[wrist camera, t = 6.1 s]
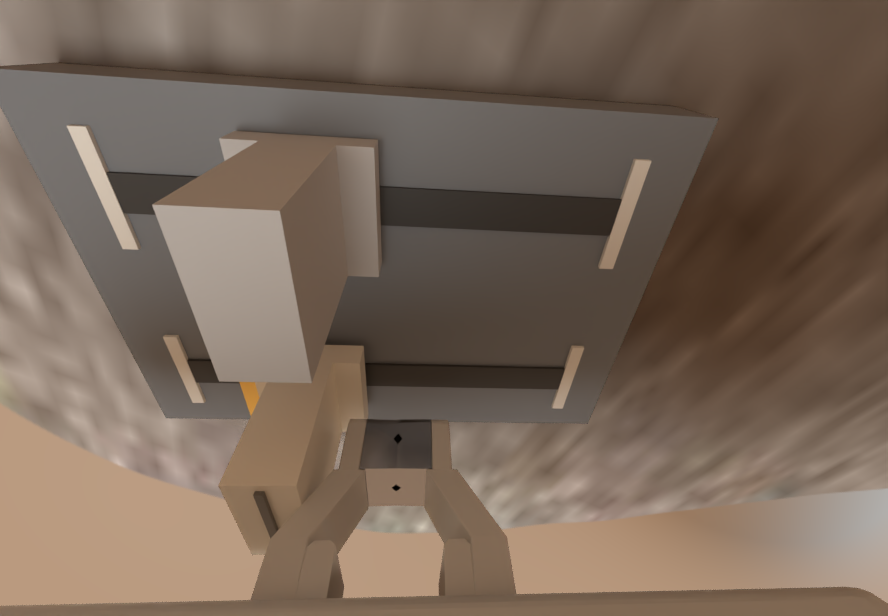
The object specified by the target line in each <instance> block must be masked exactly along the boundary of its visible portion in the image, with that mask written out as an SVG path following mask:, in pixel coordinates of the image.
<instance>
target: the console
mask: <svg viewBox="0 0 888 616" xmlns="http://www.w3.org/2000/svg"><path fill="white" fill-rule="evenodd" d="M0 107H1V109H2V111H3V112H4V114H5V116H6V118H7V120H8V122H9V124H10V126H11V127H12V129H13V131H14V133H15V135H16V137H17V139H18V141H19V143H20V144H21V146H22V148H23V150H24V152H25V154H26V156H27V158H28V159H29V161H30V163H31V165H32V167H33V169H34V171H35V173H36V174H37V176H38V178H39V180H40V182H41V184H42V186H43V188H44V190H45V191H46V193H47V195H48V197H49V199H50V201H51V203H52V205H53V206H54V208H55V210H56V212H57V214H58V216H59V218H60V220H61V222H62V223H63V225H64V227H65V229H66V231H67V233H68V235H69V237H70V238H71V240H72V242H73V244H74V246H75V248H76V250H77V252H78V253H79V255H80V257H81V259H82V261H83V263H84V265H85V267H86V269H87V270H88V272H89V274H90V276H91V278H92V280H93V282H94V284H95V285H96V287H97V289H98V291H99V293H100V295H101V297H102V299H103V301H104V302H105V304H106V306H107V308H108V310H109V312H110V314H111V316H112V317H113V319H114V321H115V323H116V325H117V327H118V329H119V331H120V332H121V334H122V336H123V338H124V340H125V342H126V344H127V346H128V348H129V349H130V351H131V353H132V355H133V357H134V359H135V361H136V363H137V364H138V366H139V368H140V370H141V372H142V374H143V376H144V378H145V379H146V381H147V383H148V385H149V387H150V389H151V391H152V393H153V395H154V396H155V398H156V400H157V402H158V404H159V406H160V408H161V410H162V411H163V413H164V415H165V417H166V418H195V419H250V417H251V415H252V413H253V411H254V409H255V407H256V404H257V402H258V400H259V395H258V391H257V388H256V385H255V382H276V383H312V381H313V378H314V375H315V372H316V369H317V366H318V363H319V360H320V357H321V354H322V351H323V348H324V345H354V346H364V358H365V372H366V386H367V400H368V419H380V420H398V419H431V420H448V422H503V423H579V424H588V422H589V419H590V417H591V415H592V412H593V410H594V408H595V405H596V403H597V401H598V398H599V396H600V394H601V391H602V389H603V387H604V384H605V382H606V380H607V377H608V375H609V373H610V370H611V368H612V366H613V363H614V361H615V359H616V356H617V354H618V352H619V349H620V347H621V345H622V342H623V340H624V338H625V335H626V333H627V331H628V329H629V326H630V324H631V322H632V319H633V317H634V315H635V312H636V310H637V308H638V305H639V303H640V301H641V298H642V296H643V294H644V291H645V289H646V287H647V284H648V282H649V280H650V277H651V275H652V273H653V270H654V268H655V266H656V263H657V261H658V259H659V256H660V254H661V252H662V249H663V247H664V245H665V242H666V240H667V238H668V235H669V233H670V231H671V228H672V226H673V224H674V222H675V219H676V217H677V215H678V212H679V210H680V208H681V205H682V203H683V201H684V198H685V196H686V194H687V191H688V189H689V187H690V184H691V182H692V180H693V177H694V175H695V173H696V170H697V168H698V166H699V163H700V161H701V159H702V156H703V154H704V152H705V149H706V147H707V145H708V142H709V140H710V138H711V135H712V133H713V131H714V128H715V126H716V124H717V121H718V119H719V118H716V117H712V116H708V115H704V114H701V113H697V112H693V111H690V110H686V109H682V108H679V107H675V106H664V105H650V104H635V103H621V102H607V101H593V100H579V99H565V98H550V97H536V96H522V95H508V94H494V93H479V92H465V91H451V90H437V89H423V88H409V87H394V86H380V85H366V84H352V83H338V82H323V81H309V80H295V79H281V78H267V77H253V76H238V75H224V74H210V73H196V72H182V71H167V70H153V69H139V68H125V67H111V66H97V65H82V64H68V63H43V64H27V65H11V66H0Z"/></svg>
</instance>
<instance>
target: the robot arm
mask: <svg viewBox="0 0 888 616" xmlns="http://www.w3.org/2000/svg"><path fill="white" fill-rule="evenodd" d="M391 505H404V506H424V508H425V509H426V511H427V513H428V515H429V517H430V519H431V520H432V522H433V524H434V526H435V528H436V530H437V531H438V533H439V535H440V537H441V539H442V540H443V542H444V549H443V556H442V564H441V571H440V579H439V596H416V597H371V598H343V591H344V584H343V580H342V574H341V570H340V565H339V560H338V555H337V554H338V553H339V551H340V550H341V548H342V547H343V545H344V544H345V542H346V541H347V539H348V538H349V536H350V535H351V533H352V532H353V530H354V529H355V527H356V526H357V524H358V523H359V521H360V520H361V518H362V517H363V515H364V514H365V513H366V511H367V510H368V506H391ZM0 616H888V603H886V602H884V601H883V600H881V599H880V598H878V597H877V596H875V595H874V594H872V593H870V592H868V591H865V590H862V589H859V588H851V587H826V588H824V587H823V588H781V589H780V588H778V589H734V590H689V591H688V590H687V591H647V592H646V591H645V592H644V591H643V592H602V593H601V592H599V593H598V592H597V593H551V594H516V590H515V584H514V578H513V571H512V565H511V559H510V553H509V547H508V541H507V537H506V535H505V534H504V532H503V531H502V530H501V528H500V527H499V526H498V524H497V523H496V522H495V520H494V519H493V518H492V516H491V515H490V514H489V512H488V511H487V510H486V508H485V507H484V505H483V504H482V503H481V501H480V500H479V499H478V497H477V496H476V495H475V493H474V492H473V491H472V489H471V488H470V487H469V485H468V484H467V483H466V481H465V480H464V479H463V477H462V476H461V474H460V473H459V472H458V470H454V469H452V463H451V447H450V431H449V422H448V420H431V419H398V420H380V419H350V421H349V423H348V426H347V431H346V436H345V441H344V446H343V451H342V456H341V461H340V466H339V469H337V470H333V471H332V472H331V473H330V474H329V475H328V476H327V477H326V478H325V480H324V481H323V482H322V483H321V484H320V485H319V486H318V487H317V488H316V489H315V490H314V492H313V493H312V494H311V495H310V496H309V497H308V498H307V499H306V500H305V501H304V503H303V504H302V505H301V506H300V507H299V508H298V509H297V510H296V511H295V512H294V513H293V515H292V516H291V517H290V518H289V519H288V520H287V521H286V522H285V523H284V524H283V526H282V527H281V528H280V529H279V530H278V531H277V532H276V533H275V534H274V535H273V536H272V538H271V539H270V541H269V544H268V547H267V550H266V553H265V556H264V560H263V563H262V566H261V569H260V572H259V575H258V579H257V582H256V585H255V588H254V591H253V594H252V598H251V600H242V601H241V600H238V601H194V602H154V603H153V602H149V603H108V604H107V603H106V604H64V605H62V604H61V605H20V606H19V605H18V606H0Z"/></svg>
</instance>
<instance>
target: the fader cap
mask: <svg viewBox="0 0 888 616" xmlns="http://www.w3.org/2000/svg"><path fill="white" fill-rule="evenodd" d="M255 385H256V388H257V391H258V395H259V400H258V402H257V404H256V407H255V409H254V411H253V413H252V415H251V417H250V419H249V421H248V424H247V426H246V428H245V430H244V432H243V434H242V436H241V439H240V441H239V443H238V445H237V447H236V449H235V451H234V454H233V456H232V458H231V460H230V462H229V464H228V466H227V468H226V471H225V473H224V475H223V477H222V479H221V481H220V483H219V488H220V490H221V492H222V494H223V496H224V498H225V500H226V502H227V504H228V507H229V509H230V511H231V513H232V515H233V517H234V519H235V520H236V523H237V525H238V527H239V529H240V531H241V533H242V535H243V537H244V539H245V541H246V543H247V545H248V548H249V549H250V551H251V554H252V555H258V554H259V555H262V554H263V555H265V553H266V550H267V547H268V544H269V541H270V539H271V538H272V536H273V535H274V534H275V533H276V532H277V531H278V530H279V529H280V528H281V527H282V526H283V524H284V523H285V522H286V521H287V520H288V519H289V518H290V517H291V516H292V515H293V513H294V512H295V511H296V510H297V509H298V508H299V507H300V506H301V505H302V504H303V503H304V501H305V500H306V499H307V498H308V497H309V496H310V495H311V494H312V493H313V492H314V490H315V489H316V488H317V487H318V486H319V485H320V484H321V483H322V482H323V481H324V480H325V478H326V477H327V476H328V475H329V474H330V473H331V472H332V471H333V470H334V466H335V461H336V457H337V452H338V447H339V443H340V438H341V434H342V432H346V431H347V426H348V423H349V421H350V419H368V400H367V386H366V372H365V358H364V346H354V345H324V348H323V351H322V354H321V357H320V360H319V363H318V366H317V369H316V372H315V375H314V378H313V381H312V383H276V382H255Z"/></svg>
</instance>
